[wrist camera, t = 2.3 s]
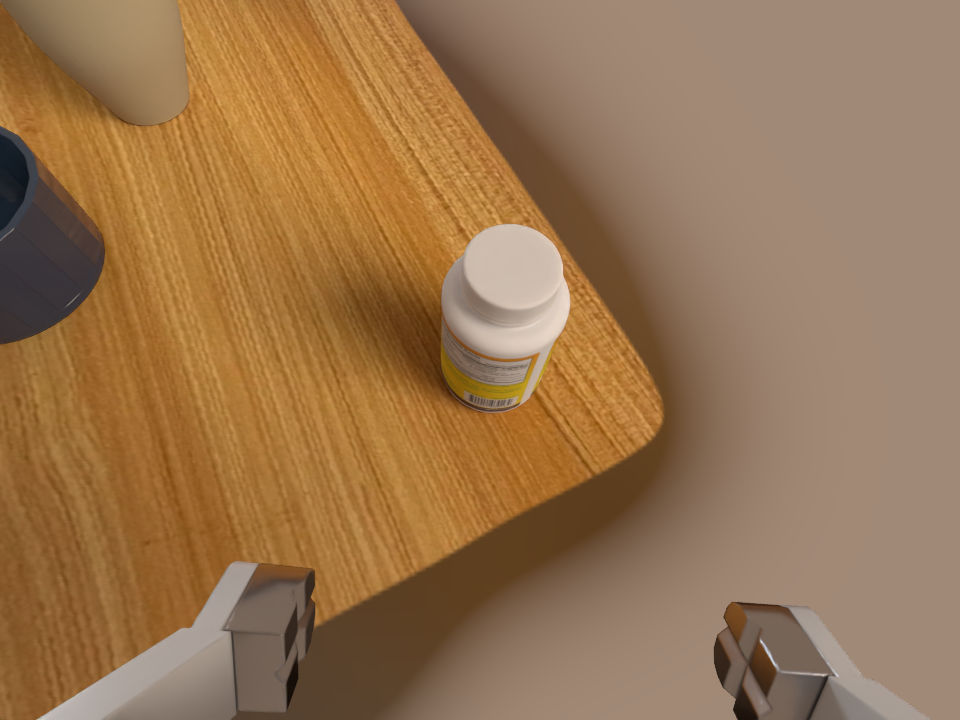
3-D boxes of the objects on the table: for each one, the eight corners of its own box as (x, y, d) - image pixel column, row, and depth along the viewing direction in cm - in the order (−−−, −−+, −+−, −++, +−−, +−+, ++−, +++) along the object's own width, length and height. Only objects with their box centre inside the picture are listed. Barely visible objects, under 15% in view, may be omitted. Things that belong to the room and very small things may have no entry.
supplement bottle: (503, 309, 32) (530, 186, 23) (559, 384, 30) (614, 285, 21) (420, 354, 31) (414, 241, 21) (475, 436, 29) (494, 353, 20)
